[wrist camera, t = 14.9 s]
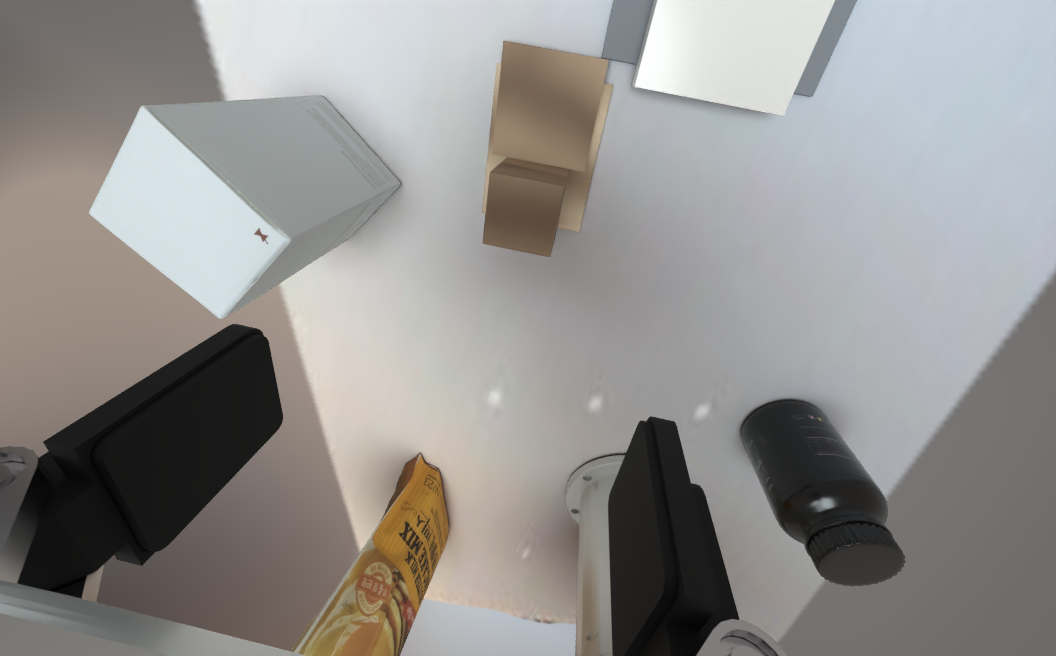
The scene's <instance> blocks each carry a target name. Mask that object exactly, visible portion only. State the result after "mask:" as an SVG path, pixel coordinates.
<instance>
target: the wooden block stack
mask: <svg viewBox="0 0 1056 656" xmlns="http://www.w3.org/2000/svg"><path fill="white" fill-rule="evenodd" d="M608 62H609V60H606V59H601V58H595V57H590V56H584V55H579V54H573V53H568V52H563V51H557V50H552V49H546V48H541V47H535V46H530V45H525V44H519V43H514V42H508V41H504V42H503V51H502V61H501V71H500V81H499V90H498V100H497V110H496V120H495V130H494V139H493V149H492V154H494V155H499V156H504V157H507V158H506V159H504V160H503V161H502V162H501V163H500V164H499V165H498V166H496V167H495V168H494V169H493V170H492V171H491V172H490V175H489V185H488V195H487V205H486V214H485V224H484V234H483V244H487V245H492V246H497V247H502V248H507V249H512V250H517V251H522V252H527V253H532V254H537V255H542V256H547V257H550V255H551V251H552V247H553V243H554V239H555V235H556V231H557V227H558V222H559V217H560V212H561V207H562V202H563V197H564V192H565V187H566V182H567V177H568V172H569V169H571V170H577V171H582V172H584V171H585V167H586V162H587V158H588V153H589V149H590V144H591V140H592V135H593V130H594V126H595V121H596V117H597V112H598V108H599V103H600V99H601V94H602V90H603V85H604V80H605V76H606V71H607V67H608Z"/></svg>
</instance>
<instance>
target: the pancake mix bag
mask: <svg viewBox="0 0 1056 656" xmlns="http://www.w3.org/2000/svg"><path fill="white" fill-rule="evenodd" d="M448 531H449V522H448V516H447V510H446V504H445V499H444V494H443V485H442V479H441V475H440V472H439V469H438V468H436V467H434V466H432V465H430V464H427V463H425V461H424V459H423V458H422V456H421V454H419V455H417V456H416V457H415V458H413V459H412V460H410V461H409V462H407V463H406V464H405V467H404V469H403V472H402V474H401V476H400V478H399V480H398V482H397V486H396V491H395V493H394V495H393V496H392V498H391V500H390V502H389V504H388V506H387V509H386V511H385V514H384V516H383V518H382V519H381V521H380V523H379V525H378V526H377V528H376V530H375V531H374V533H373V534H372V536H371V538H370V539H369V540H368V542H367V543H366V545H365V546H364V548H363V549H362V550H361V552H360V553H359V555H358V556H357V558H356V559H355V561H354V562H353V563H352V565H351V566H350V568H349V569H348V571H347V572H346V574H345V575H344V576H343V578H342V579H341V580H340V582H339V583H338V585H337V586H336V588H335V589H334V591H333V592H332V594H331V595H330V597H329V598H328V600H327V601H326V603H325V604H324V605H323V606H322V608H321V609H320V610H319V612H318V613H317V614H316V615H315V616H314V618H313V619H312V620H311V621H310V622H309V624H308V625H307V627H306V628H305V629H304V631H303V632H302V634H301V635H300V637H299V638H298V640H297V642H296V643H295V644H294V646H293V647H292V649H291V650H290V652H294V653H298V654H302V655H306V656H400V653H401V651H402V648H403V646H404V643H405V641H406V639H407V636H408V634H409V632H410V629H411V627H412V624H413V622H414V619H415V617H416V615H417V612H418V610H419V607H420V605H421V602H422V600H423V598H424V595H425V593H426V591H427V588H428V586H429V583H430V581H431V579H432V576H433V574H434V571H435V569H436V566H437V564H438V562H439V559H440V557H441V555H442V552H443V550H444V548H445V544H446V541H447V538H448Z"/></svg>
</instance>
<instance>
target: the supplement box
mask: <svg viewBox="0 0 1056 656" xmlns="http://www.w3.org/2000/svg"><path fill="white" fill-rule="evenodd" d="M400 185H401V183H400V182H399V180H398V179H397V178H396V177H395V176H394V175H393V174H392V172H391V171H390V170H389V169H388V168H387V167H386V166H385V164H384V163H383V162H382V161H381V160H380V159H379V158H378V157H377V156H376V154H375V153H374V152H373V151H372V150H371V149H370V148H369V147H368V145H367V144H366V143H365V142H364V141H363V140H362V139H361V137H360V136H359V135H358V134H357V133H356V132H355V131H354V130H353V129H352V128H351V126H350V125H349V124H348V123H347V122H346V121H345V120H344V119H343V118H342V116H341V115H340V114H339V113H338V112H337V111H336V110H335V109H334V107H333V106H332V105H331V104H330V103H329V102H328V101H327V100H326V99H325V98H324V97H323V96H303V97H285V98H268V99H253V100H236V101H219V102H204V103H185V104H169V105H143V106H141V108H140V109H139V112H138V114H137V116H136V118H135V120H134V122H133V124H132V126H131V128H130V131H129V132H128V134H127V137H126V139H125V141H124V143H123V145H122V147H121V149H120V151H119V153H118V155H117V157H116V159H115V161H114V163H113V165H112V167H111V169H110V171H109V173H108V175H107V177H106V179H105V181H104V183H103V185H102V187H101V189H100V191H99V193H98V195H97V197H96V199H95V201H94V203H93V205H92V207H91V209H90V211H89V214H90V215H91V216H92V217H94V218H95V219H96V220H97V221H99V222H100V223H101V224H102V225H103V226H105V227H106V228H107V229H108V230H110V231H111V232H112V233H113V234H114V235H116V236H117V237H118V238H119V239H121V240H122V241H123V242H124V243H126V244H127V245H128V246H129V247H131V248H132V249H133V250H134V251H136V252H137V253H138V254H139V255H140V256H142V257H143V258H144V259H145V260H147V261H148V262H149V263H151V264H152V265H153V266H154V267H155V268H157V269H158V270H159V271H160V272H162V273H163V274H164V275H166V276H167V277H168V278H169V279H171V280H172V281H173V282H174V283H176V284H177V285H178V286H179V287H181V288H182V289H183V290H185V291H186V292H187V293H188V294H190V295H191V296H192V297H193V298H195V299H196V300H197V301H199V302H200V303H201V304H202V305H203V306H205V307H206V308H207V309H208V310H209V311H210V312H212V313H213V314H214V315H215V316H216V317H217V318H219V319H223V318H225V317H226V316H228V315H230V314H231V313H233V312H235V311H237V310H238V309H240V308H242V307H243V306H245V305H247V304H248V303H250V302H251V301H253V300H254V299H256V298H257V297H259V296H261V295H262V294H264V293H265V292H267V291H268V290H270V289H272V288H273V287H275V286H276V285H278V284H279V283H281V282H282V281H284V280H285V279H287V278H289V277H290V276H292V275H293V274H295V273H296V272H298V271H299V270H301V269H303V268H304V267H306V266H307V265H309V264H310V263H312V262H313V261H315V260H316V259H318V258H320V257H321V256H323V255H324V254H326V253H327V252H329V251H331V250H332V249H334V248H336V247H337V246H339V245H340V244H342V243H344V242H345V241H346V240H347V239H349V238H350V237H351V236H352V235H353V234H354V233H355V232H356V231H357V230H358V229H359V228H360V227H361V226H362V225H363V224H364V223H365V222H366V221H367V220H368V219H369V218H370V217H371V216H372V214H373V213H374V212H375V211H376V210H377V209H378V208H379V207H380V206H381V205H382V204H383V203H384V202H385V201H386V200H387V199H388V198H389V197H390V196H391V195H392V194H393V193H394V192H395V191H396V190H397V189H398V188H399V187H400Z"/></svg>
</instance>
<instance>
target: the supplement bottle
mask: <svg viewBox="0 0 1056 656" xmlns="http://www.w3.org/2000/svg"><path fill="white" fill-rule="evenodd" d="M742 442H743V445H744V447H745V450H746V452H747V454H748V457H749V459H750V461H751V463H752V466H753V468H754V470H755V472H756V475H757V477H758V479H759V481H760V484H761V486H762V488H763V491H764V493H765V495H766V497H767V500H768V502H769V504H770V506H771V509H772V511H773V513H774V515H775V518H776V520H777V521H778V523H779V525H780V527H781V528H782V529H783V530H784V531H785V532H786V533H787V534H788V535H789V536H790V537H792V538H793V539H795V540H796V541H798V542H800V543H802V544H804V546H805V549H806V551H807V553H808V554H809V556H810V557H811V559H812V561H813V563H814V565H815V567H816V569H817V571H818V572H819V573H820V575H821V576H822V577H824V578H825V579H826V580H829V581H830V582H833V583H836V584H841V585H844V586H863V585H870V584H877V583H879V582H883V581H885V580H887V579H890V578H892V577H893V576H895V575H897V573H898V572H900V571H901V569H902V568H903V567H904V563H905V556H904V554H903V552H902V550H901V549H900V547H899V546H898V544H897V543H896V542H895V540H894V539H893V536H892V534H891V532H890V531H889V529H888V528H887V527H886V525H885V523H886V520H887V517H888V505H887V501H886V499H885V497H884V495H883V494H882V492H881V491H880V489H879V488H878V486H877V485H876V484H875V482H874V481H873V479H872V478H871V477H870V475H869V474H868V473H867V471H866V470H865V469H864V467H863V466H862V464H861V463H860V462H859V460H858V459H857V458H856V456H855V455H854V454H853V452H852V451H851V450H850V448H849V447H848V445H847V444H846V443H845V441H844V440H843V439H842V437H841V436H840V435H839V433H838V432H837V431H836V429H835V428H834V426H833V425H832V424H831V423H830V421H829V420H828V419H827V417H826V416H825V415H824V414H823V413H822V412H821V411H820V410H819V409H817V408H816V407H814V406H812V405H810V404H807V403H804V402H798V401H781V402H776V403H772V404H769V405H766V406H764V407H762V408H760V409H758V410H757V411H755V412H754V413H753V414H752V415H751V416H750V417H749V418H748V419H747V420H746V422H745V424H744V426H743V429H742Z"/></svg>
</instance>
